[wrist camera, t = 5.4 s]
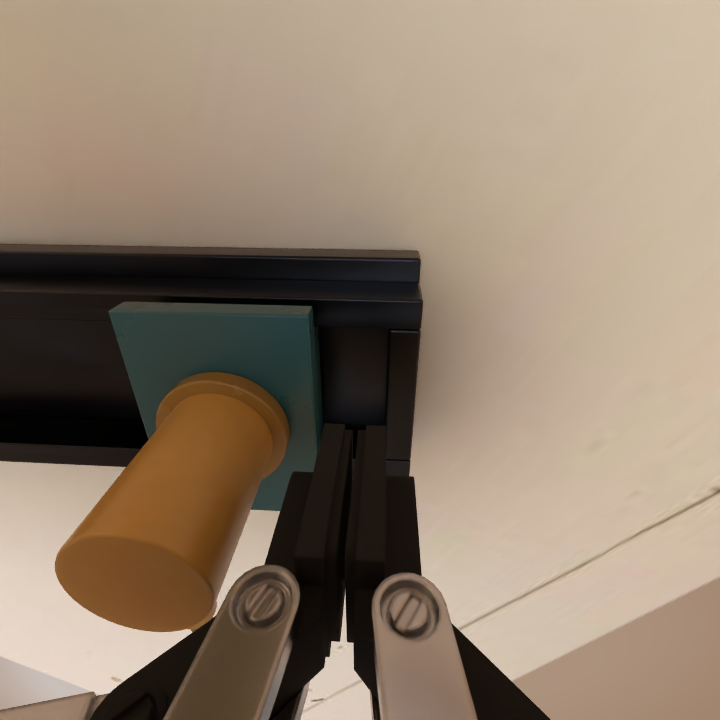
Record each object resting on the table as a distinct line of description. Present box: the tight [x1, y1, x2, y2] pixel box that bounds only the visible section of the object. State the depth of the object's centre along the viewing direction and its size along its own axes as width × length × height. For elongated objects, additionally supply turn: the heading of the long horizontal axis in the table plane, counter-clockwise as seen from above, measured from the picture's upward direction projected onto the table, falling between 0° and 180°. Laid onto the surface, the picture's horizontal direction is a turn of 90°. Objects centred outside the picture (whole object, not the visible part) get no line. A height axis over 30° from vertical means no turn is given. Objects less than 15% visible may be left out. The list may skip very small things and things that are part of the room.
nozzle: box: [55, 302, 323, 632], centre depth 12 cm, size 6×8×8 cm
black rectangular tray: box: [0, 244, 423, 476], centre depth 16 cm, size 24×9×3 cm, turn 90°
